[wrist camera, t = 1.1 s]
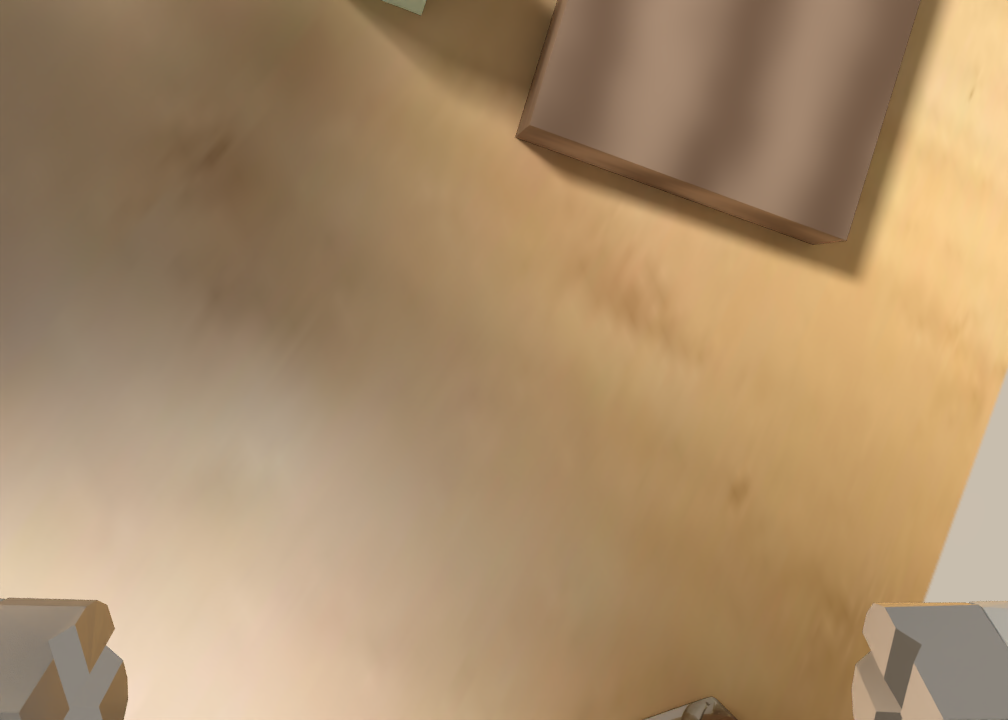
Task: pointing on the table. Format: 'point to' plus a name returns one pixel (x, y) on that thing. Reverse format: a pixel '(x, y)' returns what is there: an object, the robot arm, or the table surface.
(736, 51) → the walnut platform
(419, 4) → the sage block
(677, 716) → the coffee box
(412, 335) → the table surface
